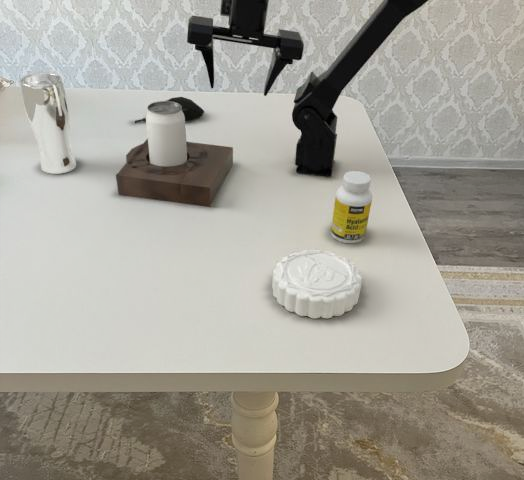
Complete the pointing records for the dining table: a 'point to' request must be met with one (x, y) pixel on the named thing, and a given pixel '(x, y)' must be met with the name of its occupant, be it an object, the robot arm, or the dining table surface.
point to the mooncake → (316, 283)
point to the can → (166, 134)
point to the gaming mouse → (186, 109)
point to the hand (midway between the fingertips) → (238, 91)
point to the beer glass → (49, 120)
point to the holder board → (177, 175)
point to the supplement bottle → (352, 208)
